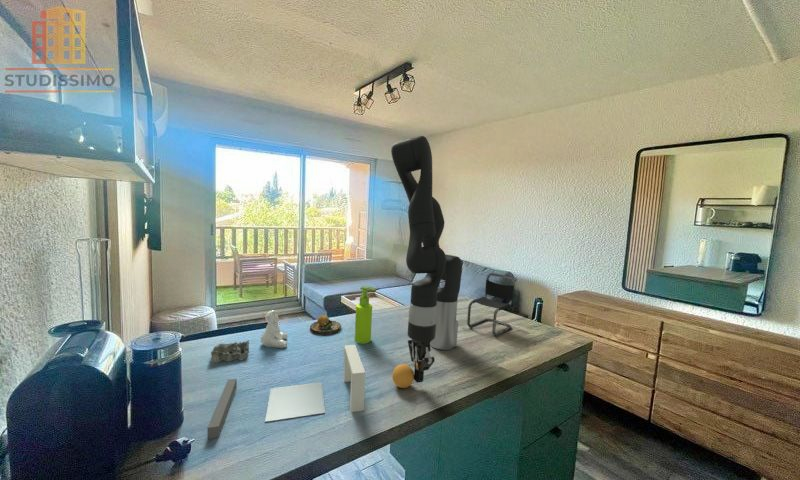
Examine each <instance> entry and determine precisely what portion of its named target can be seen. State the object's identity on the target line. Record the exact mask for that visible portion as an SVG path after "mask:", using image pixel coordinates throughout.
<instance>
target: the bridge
mask: <svg viewBox="0 0 800 480" xmlns="http://www.w3.org/2000/svg"><path fill="white" fill-rule="evenodd" d="M343 349H344V350H343V353H344V354H343V372H342V373H343V375H342V376H343V382H344V383H349V382H350V397H349V398H350V399H349V409H350V412H351V413H354V412H362V411H364V408H365V386H366V385H365V384H366V370H365V368H364V365H363V363H362V359H361V358H360V354H359V352H358V349H357V346H356V344H345V345H344V348H343Z"/></svg>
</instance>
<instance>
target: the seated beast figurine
mask: <svg viewBox="0 0 800 480" xmlns="http://www.w3.org/2000/svg"><path fill="white" fill-rule="evenodd" d="M264 318H265V321H266V322H267V324H266V327H265V331H264V332H263V334H261V337H260V343H261V344H262V345H263V346H265V347H266V348H275V349H286V348H287V347H288V342H287V341H285V340H287V339H288V333H286V332H282V331H281V330H280V326H279V321H280V319H279V314H277V312H276V311H275V310H274V309H271V310H270V311H268V312H266V314H265V316H264Z"/></svg>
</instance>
